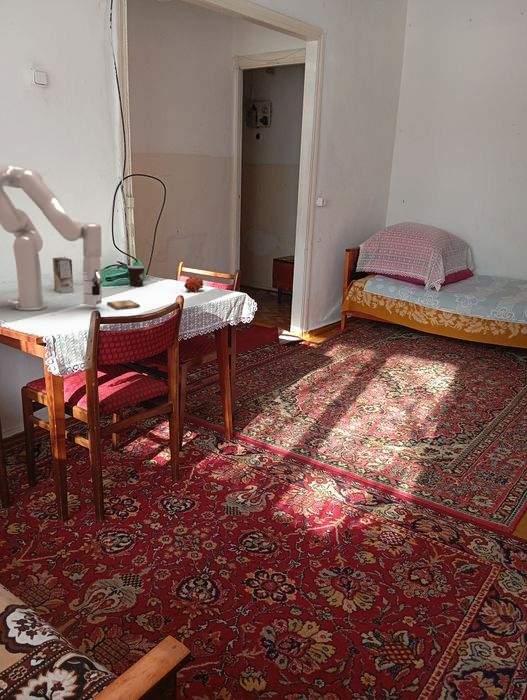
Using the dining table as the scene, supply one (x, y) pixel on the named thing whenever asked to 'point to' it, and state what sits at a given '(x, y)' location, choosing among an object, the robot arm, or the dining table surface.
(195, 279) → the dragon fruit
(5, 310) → the dining table surface
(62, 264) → the coffee box
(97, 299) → the syrup box
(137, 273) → the coffee mug
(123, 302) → the walnut board
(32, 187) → the robot arm
